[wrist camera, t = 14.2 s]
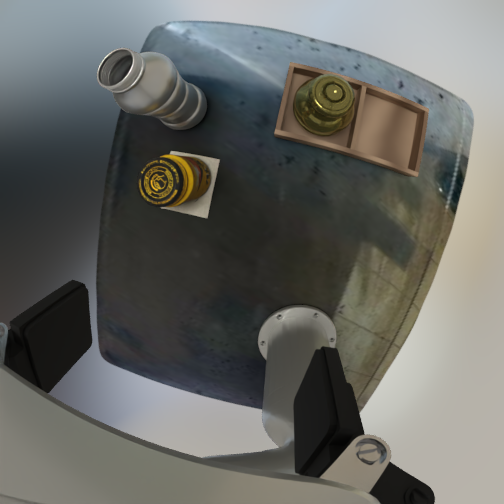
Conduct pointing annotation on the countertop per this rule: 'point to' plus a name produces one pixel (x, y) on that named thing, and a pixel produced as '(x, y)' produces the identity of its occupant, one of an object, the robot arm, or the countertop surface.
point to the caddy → (363, 124)
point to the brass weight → (324, 105)
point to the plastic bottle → (152, 88)
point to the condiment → (179, 182)
